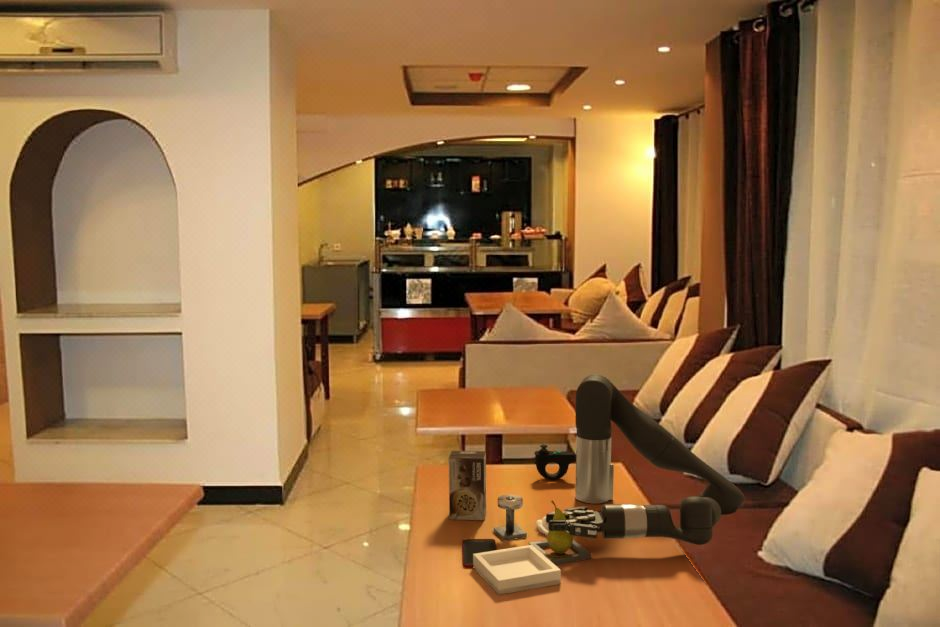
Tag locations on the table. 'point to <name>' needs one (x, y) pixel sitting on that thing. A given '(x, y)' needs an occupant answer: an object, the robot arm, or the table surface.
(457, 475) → the coffee box
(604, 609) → the table surface
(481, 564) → the tray
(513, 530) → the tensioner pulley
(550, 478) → the controller
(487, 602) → the table surface
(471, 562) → the cell phone
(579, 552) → the grey square frame
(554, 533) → the fruit
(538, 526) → the rose
